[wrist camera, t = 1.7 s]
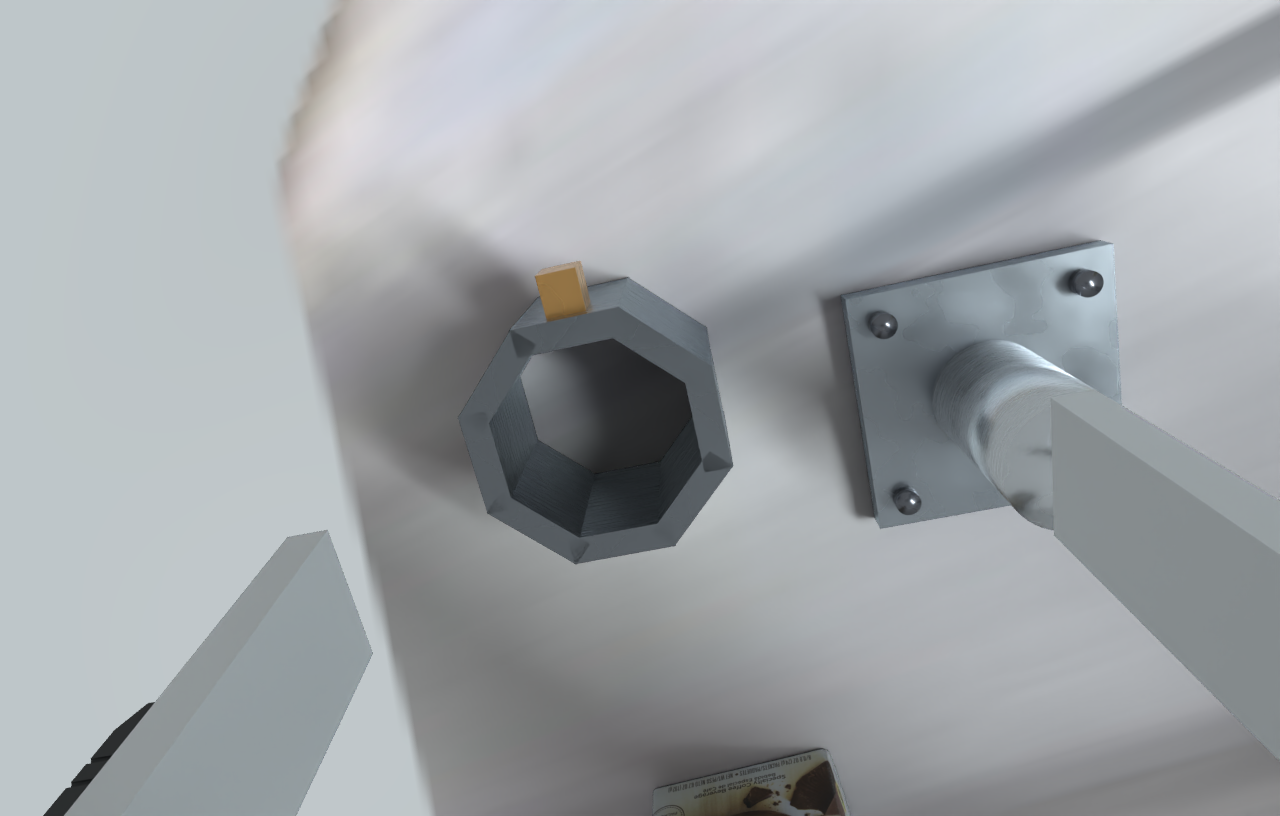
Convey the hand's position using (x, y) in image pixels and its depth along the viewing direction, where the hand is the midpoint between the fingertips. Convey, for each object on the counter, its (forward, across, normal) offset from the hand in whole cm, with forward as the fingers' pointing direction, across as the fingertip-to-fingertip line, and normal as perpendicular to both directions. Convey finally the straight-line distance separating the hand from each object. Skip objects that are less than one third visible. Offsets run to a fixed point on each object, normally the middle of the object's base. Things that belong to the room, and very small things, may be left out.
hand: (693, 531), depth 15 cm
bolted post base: (+19, -12, +6) cm, 23 cm away
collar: (+19, +3, +4) cm, 20 cm away
